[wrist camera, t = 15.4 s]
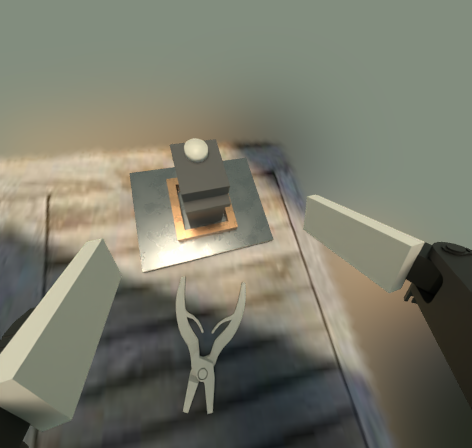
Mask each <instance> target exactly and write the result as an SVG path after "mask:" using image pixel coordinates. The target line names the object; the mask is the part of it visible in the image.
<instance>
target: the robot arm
mask: <svg viewBox="0 0 472 448" xmlns="http://www.w3.org/2000/svg"><path fill="white" fill-rule="evenodd" d="M303 230H305V231H306V232H307V233H309V234H310V235H312V236H313V237H314V238H316V239H317V240H318V241H320V242H321V243H322V244H324V245H325V246H326V247H328V248H329V249H330V250H332V251H333V252H335V253H336V254H337V255H338V256H340V257H341V258H342V259H344V260H345V261H346V262H348V263H349V264H351V265H352V266H353V267H355V268H356V269H358V270H359V271H360V272H361V273H363V274H364V275H366V276H367V277H368V278H369V279H371V280H372V281H373V282H375V283H376V284H378V285H379V286H380V287H381V288H383V289H384V290H385V291H387V292H388V293H391V292H394V291H396V290H399V289H401V287H402V286H403V284H404V282H405V280H406V279H407V280H409V281H410V282H412V283H411V285H410V287H409V289H408V291H407V293H406V295H405V296H404V301H408V299H409V298H410V296H414V298H413V299H412V303H416V304H418V306H419V308H420V310H421V312H422V314H423V316H424V318H425V320H426V322H427V324H428V325H429V327H430V329H431V331H432V333H433V335H434V337H435V339H436V341H437V343H438V345H439V347H440V349H441V351H442V353H443V355H444V357H445V359H446V361H447V363H448V365H449V366H450V368H451V370H452V372H453V374H454V376H455V378H456V380H457V382H458V384H459V386H460V388H461V390H462V392H463V394H464V396H465V398H466V400H467V402H468V403H469V405H470V407H471V409H472V250H470V249H468V248H465V247H462V246H459V245H456V244H452V243H446V242H437V243H434V244H433V245H430V244H428V243H425V242H423V241H421V240H419V239H417V238H414V237H412V236H410V235H407V234H405V233H403V232H401V231H398V230H396V229H394V228H391V227H389V226H387V225H385V224H382V223H380V222H378V221H376V220H373V219H371V218H368V217H366V216H364V215H362V214H359V213H357V212H355V211H353V210H350V209H348V208H346V207H343V206H341V205H339V204H337V203H334V202H332V201H330V200H327V199H325V198H323V197H321V196H318V195H312V196H307V203H306V211H305V220H304V228H303ZM121 276H122V275H121V273H120V271H119V269H118V267H117V265H116V263H115V261H114V259H113V257H112V255H111V253H110V251H109V250H108V248H107V246H106V244H105V242H104V240H103V238H102V239H97V240H92V241H87V242H86V243H85V245H84V246H83V247H82V248H81V250H80V251H79V252H78V254H77V255H76V256H75V258H74V259H73V260H72V261H71V263H70V264H69V265H68V267H67V268H66V269H65V270H64V272H63V273H62V274H61V276H60V277H59V278H58V280H57V281H56V282H55V283H54V285H53V286H52V287H51V289H50V290H49V291H48V293H47V294H46V295H45V296H44V298H43V299H42V300H41V302H40V303H39V304H38V306H37V307H35V308H32V309H30V310H28V311H27V312H26V313H25V314H24V315H22V316H21V317H20V318H19V319H18V320H16V321H15V322H14V323H13V324H12V325H11V327H10V328H9V329H8V330H7V332H6V333H5V334H4V335H3V336H2V340H0V448H29V446H28V445H27V444H26V443H25V442H23V439H24V436H25V434H26V432H27V430H28V428H29V426H30V425H31V426H33V427H34V428H36V429H38V430H40V431H42V432H43V431H45V430H48V429H50V428H53V427H55V426H58V425H60V424H63V423H65V422H68V421H70V420H72V418H73V415H74V412H75V409H76V406H77V403H78V400H79V398H80V395H81V392H82V389H83V386H84V383H85V380H86V377H87V374H88V372H89V369H90V366H91V363H92V360H93V357H94V354H95V351H96V348H97V346H98V343H99V340H100V337H101V334H102V331H103V328H104V325H105V322H106V319H107V317H108V314H109V311H110V308H111V305H112V302H113V299H114V296H115V293H116V291H117V288H118V285H119V282H120V279H121Z"/></svg>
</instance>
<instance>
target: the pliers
mask: <svg viewBox="0 0 472 448" xmlns="http://www.w3.org/2000/svg"><path fill="white" fill-rule="evenodd" d="M185 278H186V277H183V276H182V278H181V281H180V284H179V287H178V291H177V298H176V315H177V322H178V327H179V330H180V333H181V335H182V337H183V339H184V340H185V342H186V343H187V345H188V348H189V352H190V356H191V367H192V370H191V372H190V377H189V382H188V387H187V392H186V398H185V403H184V408H183V412H186V413H188V411H189V408H190V406H191V403H192V400H193V397H194V394H195V391H196V388H197V386H198V383H199V381H200V382H204V384H205V393H206V404H207V414H209V413H212V412H213V398H214V381H215V376H214V367H213V366H214V365H215V363H216V360H217V357H218V355H219V353H220V352H221V350H222V349H223V347H224V346H225V345H226V344H227V343H228V342H229V341H230V340H231V339H232V337H233V336H234V334H235V333H236V331H237V329H238V327H239V324H240V322H241V319H242V316H243V312H244V307H245V300H246V287H245V283H242V284H241V290H240V294H239V299H238V303H237V306H236V309H235V312H234V314H232V315H231V316H229V317H226V318H224V319H223V320H221V321H220V322H219V323H218V324H217V325H216V326H215V327H214V329H213V330H212V332H211V333H214V332H215V330H216V329H217V328H218V327H219V325H220V324H222V323H223V322H225V321H229V320H231V321H230V323H229V325H228V326H227V327H226V328H225V330H224V331H223V332H222V333H221V334H220V335H219V336H218V337H217V338H216V339H215V341H214V344H213V347H212V350H211V353H210V355H207V356H204V357H201V356H200V355H199V342H198V338H197V336H196V335H195V333H194V331H193V330H192V328H191V326H190V324H189V322H188V319H187V317H189V318H192V319H193V320H194V321H196V322H197V324H198V326H199V327H200V329H201V332H202V333H203V332H204V331H203V328H202V326H201V324H200V322H199V320H198V319H197V318H196V317H195V316H194V315H192V314H190V313H189V312H188V311H187V310H186V308H185Z"/></svg>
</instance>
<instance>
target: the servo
mask: <svg viewBox="0 0 472 448" xmlns="http://www.w3.org/2000/svg"><path fill="white" fill-rule="evenodd" d="M170 148H171V152H172V157H173V161H174V166H175V170H176V174H177V179H178V183H179V188H180V192H181V196H182V200H183V203H184V208H185V212H186V215H187V218H188V221H189V225H190V228H191V227H195V226H200V225H204V224H209V223H213V222H217V221H222V217H223V213H224V209H225V207H229V206H230V205H231V202H230V198H229V195H228V193H229V188H230V184H229V180H228V177H227V174H226V171H225V168H224V164H223V161H222V158H221V155H220V152H219V148H218V145H217V142H216V140H206V141H203V140H200V139H190V140H188V141H187V142H186V143H180V144H171V145H170Z"/></svg>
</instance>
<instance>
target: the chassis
mask: <svg viewBox="0 0 472 448" xmlns="http://www.w3.org/2000/svg"><path fill="white" fill-rule="evenodd" d="M223 164H224V168H225V171H226V174H227V177H228V180H229V184H230V188H229V193H228V195H229V198H230V202H231V205H230V206H229V207H225V209H224V213H223V217H222V221H217V222H213V223H209V224H204V225H200V226H195V227H191V228H190V225H189V221H188V218H187V215H186V212H185V208H184V203H183V200H182V196H181V192H180V188H179V183H178V179H177V174H176V170H175V167H173V168H166V169H158V170H151V171H143V172H135V173H130V180H131V188H132V196H133V204H134V211H135V219H136V227H137V235H138V243H139V250H140V258H141V266H142V272H144V273H145V272H149V271H153V270H157V269H161V268H165V267H169V266H173V265H177V264H181V263H185V262H189V261H193V260H197V259H201V258H205V257H209V256H213V255H217V254H221V253H225V252H229V251H233V250H237V249H241V248H245V247H249V246H253V245H257V244H261V243H265V242H268V241H272V240H273V237H272V234H271V231H270V228H269V225H268V222H267V219H266V216H265V213H264V210H263V207H262V204H261V201H260V198H259V195H258V192H257V189H256V186H255V183H254V180H253V177H252V174H251V171H250V168H249V165H248V162H247V159H246V158H242V159H234V160H227V161H223Z"/></svg>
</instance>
